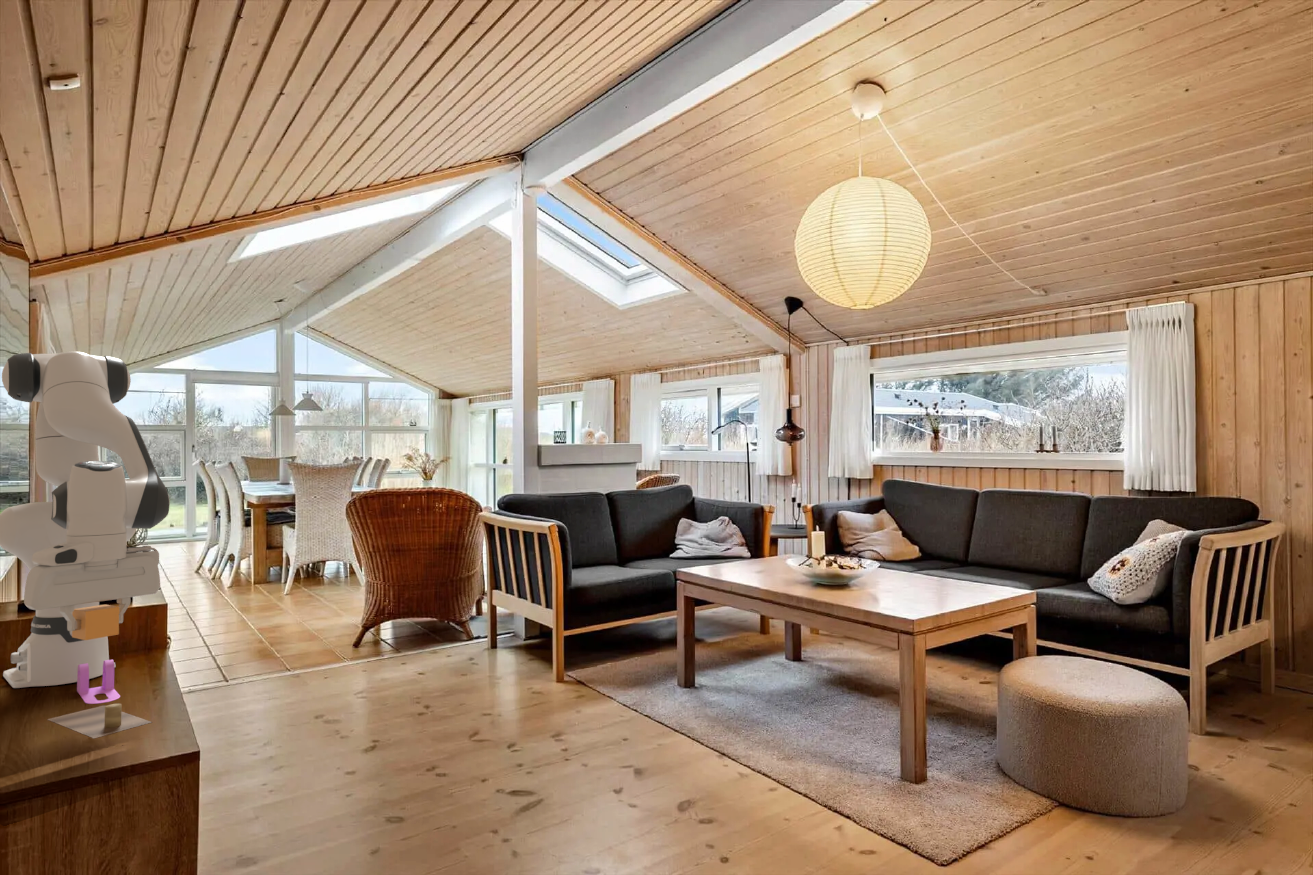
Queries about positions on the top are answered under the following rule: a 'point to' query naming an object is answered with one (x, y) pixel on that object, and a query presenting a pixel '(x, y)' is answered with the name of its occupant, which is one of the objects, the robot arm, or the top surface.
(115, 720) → the peg board
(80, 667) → the bracket
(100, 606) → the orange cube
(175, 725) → the top surface
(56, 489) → the robot arm
